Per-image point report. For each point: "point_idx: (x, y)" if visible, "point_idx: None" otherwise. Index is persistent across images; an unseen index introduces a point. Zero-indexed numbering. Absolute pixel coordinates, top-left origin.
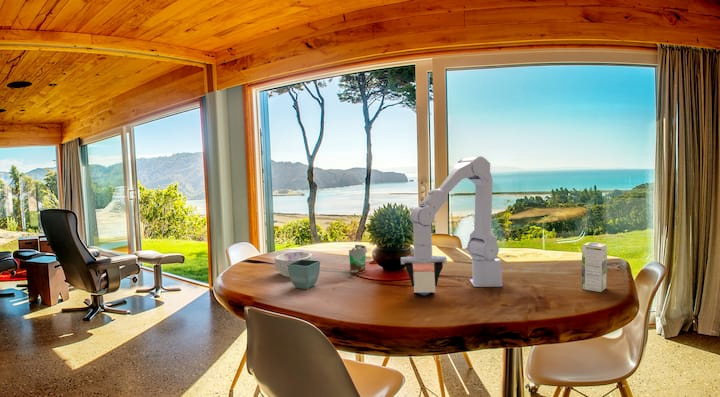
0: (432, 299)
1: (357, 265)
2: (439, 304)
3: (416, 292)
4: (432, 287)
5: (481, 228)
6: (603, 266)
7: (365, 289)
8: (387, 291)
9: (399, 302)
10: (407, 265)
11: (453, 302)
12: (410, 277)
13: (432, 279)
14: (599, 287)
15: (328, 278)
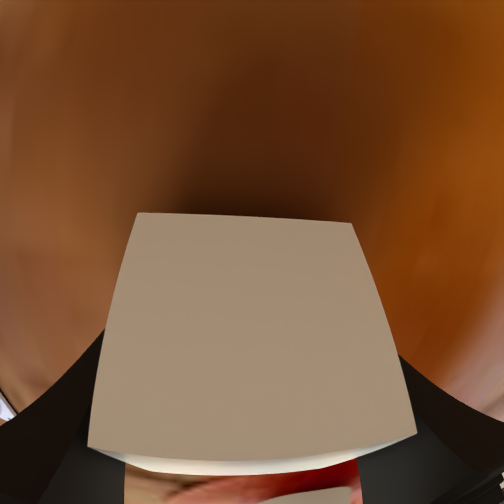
0: (182, 161)
1: None
2: (140, 29)
3: (336, 223)
4: (157, 251)
5: None
6: None
7: (492, 350)
8: (439, 337)
9: (454, 132)
10: (482, 487)
11: (28, 90)
12: (417, 374)
13: (135, 337)
14: None
15: (501, 411)
